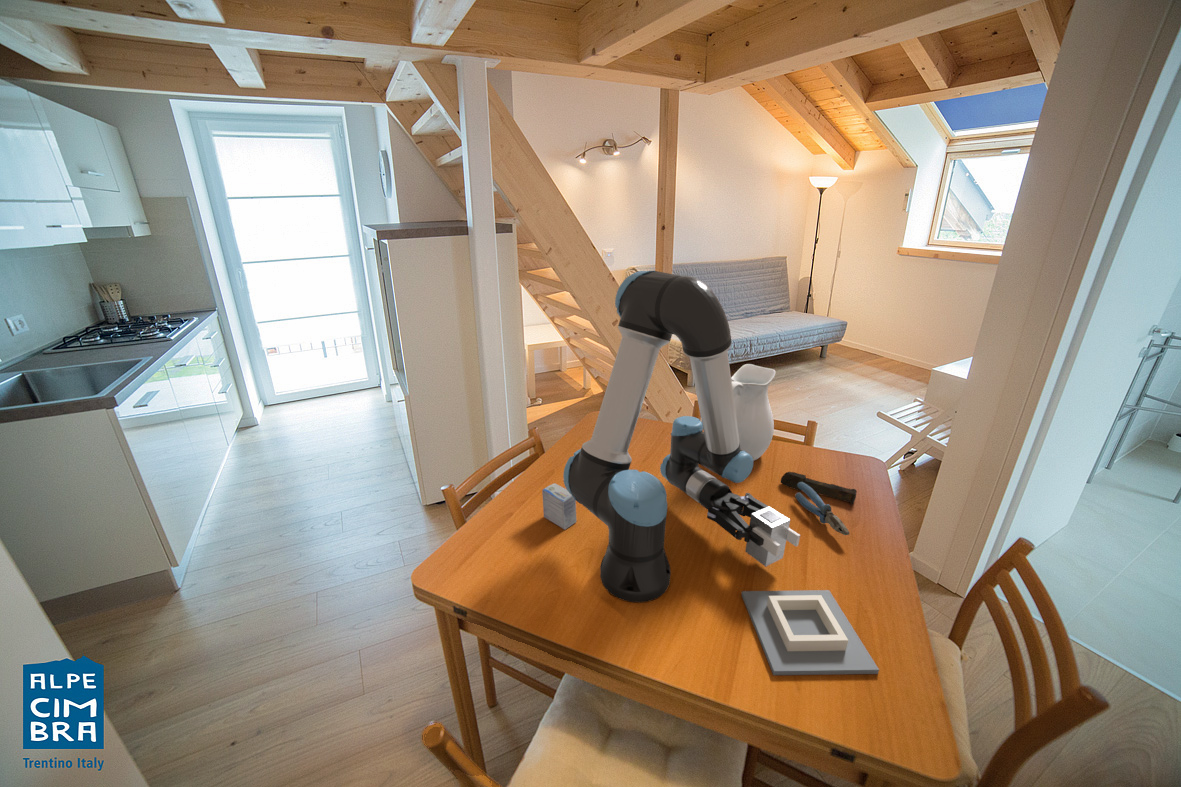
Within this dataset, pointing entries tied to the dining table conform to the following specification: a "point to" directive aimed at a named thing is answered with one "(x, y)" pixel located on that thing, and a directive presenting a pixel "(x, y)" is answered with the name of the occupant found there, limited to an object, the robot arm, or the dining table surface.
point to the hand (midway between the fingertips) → (788, 545)
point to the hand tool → (819, 487)
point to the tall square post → (768, 534)
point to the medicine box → (559, 506)
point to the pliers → (820, 508)
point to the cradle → (806, 633)
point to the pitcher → (753, 408)
